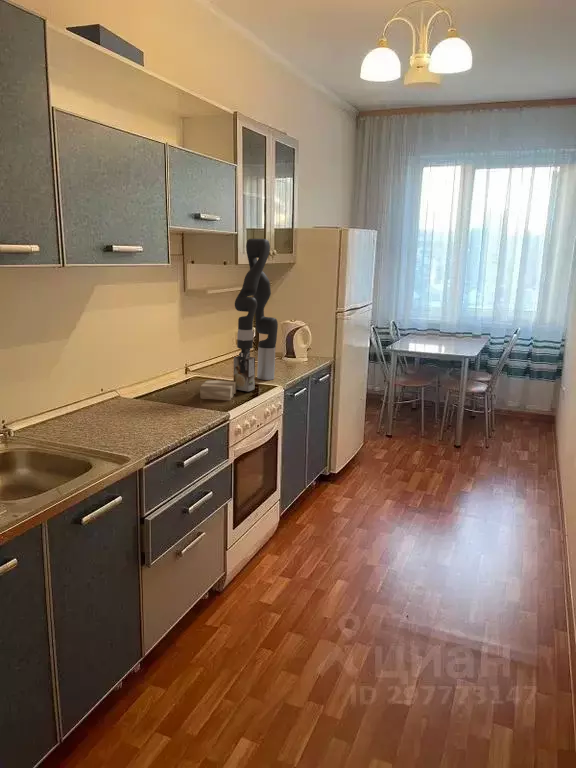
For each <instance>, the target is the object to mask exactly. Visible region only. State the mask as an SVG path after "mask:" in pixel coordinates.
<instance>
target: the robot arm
mask: <svg viewBox="0 0 576 768" xmlns="http://www.w3.org/2000/svg"><path fill="white" fill-rule="evenodd" d="M245 246H246V247H245V248H246V250H245V251H246V256H247V260H248V264H249V265H248V266H249V270H248V271H247V273H246V274H245V276H244V280H243V284H242V286H241V287H242V288H241V290H240V291H239V293H238V294H237V296H236V299H235V300H234V308H235V310H236V311H238V312H245V313H246V312H247V315H244V316H243V315H242V316H239V317H238V323H237V333H236V334H237V335H236V336H237V338H236V341H237V343H236V347H237V349H238V350H239V349H240V350H241V351H240V352H239V355H238V356H239V365H240V373H245V361H246V360H245V358H246V359H247V357H251V350H252V349H253V345H254V332H253V331H254V330H253V329H254V327H253V326H254V320H255V329H256V332H257V333H258V334H260V335H261V334H262V335H267V337H266V339H262V340H259V341H258V347H257V373H256V374H257V377H256V378H257V379H259V380H264V381H270V380H274V379H275V369H276V368H275V367H276V366H275V365H276V345H277V337H278V327H279V326H278V325H279V323H278V320H277V318H276V317H270V316H265V307H266V305H267V303H268V302H269V300H270V298H271V294H272V293H271V291H272V290H271V281H270V279H269V277H268V276H267V274H266V273H265V272H264V271H263V270H264V268H265V265H266V263H267V260H268V258H269V255H270V251H271V245H270V241H269V240H268V239H267V238H249V239H248V240H247V241H246V245H245ZM252 296H253V297H252ZM254 318H255V319H254ZM242 361H243V363H242Z"/></svg>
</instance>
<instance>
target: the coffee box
mask: <svg viewBox="0 0 576 768" xmlns="http://www.w3.org/2000/svg"><path fill="white" fill-rule="evenodd" d="M245 360H246V361H245V373H240V365H239V355H237V356H233V380H232V381H234V382H236V391H237V390H239V391H242V392H251V391H253V390H255V384H256V381H255V379H256V378H255V377H256V375H255V374H256V357H254V356H253V357H252V356H250V357H247V359H246V358H245ZM242 363H243V361H242Z"/></svg>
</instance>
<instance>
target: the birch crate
mask: <svg viewBox="0 0 576 768" xmlns="http://www.w3.org/2000/svg"><path fill="white" fill-rule="evenodd" d="M199 392H200V394H199V397H200V398H199V399H203V400H219V401H232V399H233V397H234V396H235V395H234V394H236V393H237V389H236V382H234V381H233V380H232V381H231V380H219V379H218V380H217V379H215V380H214V379H206V381H205V382H203V383H202V384H201V385H200V391H199ZM231 398H232V399H231Z"/></svg>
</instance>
